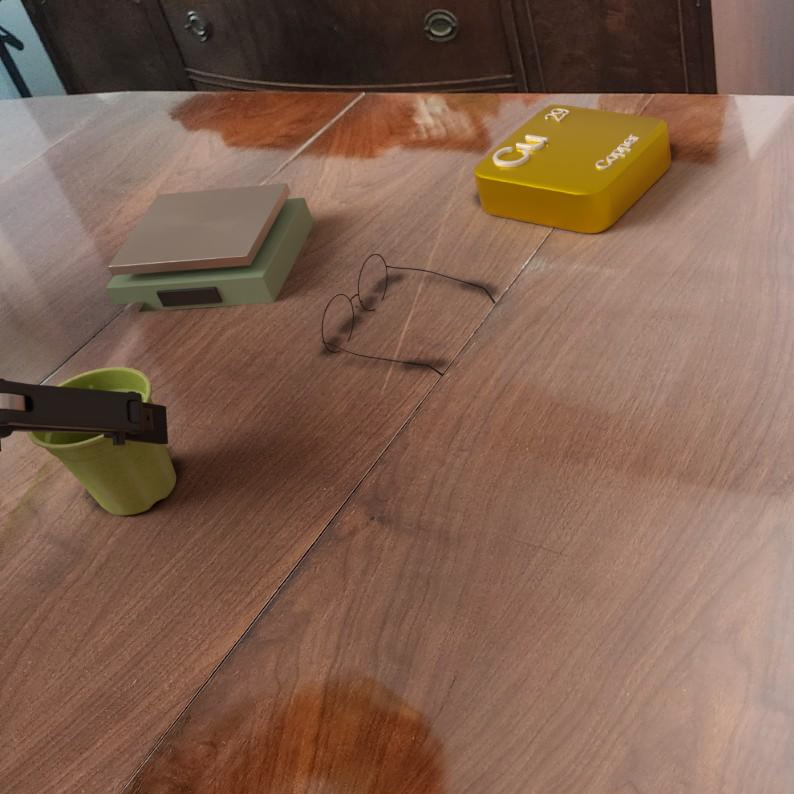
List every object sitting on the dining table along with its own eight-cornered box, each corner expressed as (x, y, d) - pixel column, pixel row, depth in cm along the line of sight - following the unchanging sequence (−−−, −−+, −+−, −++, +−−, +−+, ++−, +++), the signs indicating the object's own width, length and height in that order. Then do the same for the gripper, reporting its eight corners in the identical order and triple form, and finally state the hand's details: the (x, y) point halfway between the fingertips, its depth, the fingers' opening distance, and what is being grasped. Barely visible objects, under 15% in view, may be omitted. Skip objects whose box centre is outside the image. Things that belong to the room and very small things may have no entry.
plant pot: (97, 460, 93) (43, 376, 86) (206, 443, 92) (161, 357, 86) (69, 540, 86) (9, 455, 80) (186, 521, 86) (135, 435, 79)
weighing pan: (112, 275, 105) (107, 266, 104) (161, 203, 114) (157, 194, 113) (250, 265, 103) (246, 255, 102) (290, 192, 111) (287, 182, 110)
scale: (118, 316, 108) (99, 281, 105) (171, 236, 117) (154, 201, 114) (273, 305, 105) (258, 269, 102) (314, 224, 114) (301, 188, 111)
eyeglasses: (501, 297, 100) (489, 247, 96) (438, 384, 93) (421, 334, 89) (394, 286, 104) (378, 237, 100) (325, 369, 97) (305, 320, 93)
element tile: (601, 238, 104) (594, 191, 101) (474, 213, 111) (462, 167, 107) (679, 160, 112) (674, 113, 108) (555, 141, 118) (547, 96, 115)
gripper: (-353, 474, 64) (-68, 486, 85) (38, 457, 59) (237, 474, 80) (-363, 341, 63) (-75, 386, 84) (30, 313, 59) (232, 368, 80)
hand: (78, 429), depth 82 cm, fingers open, 13 cm apart
